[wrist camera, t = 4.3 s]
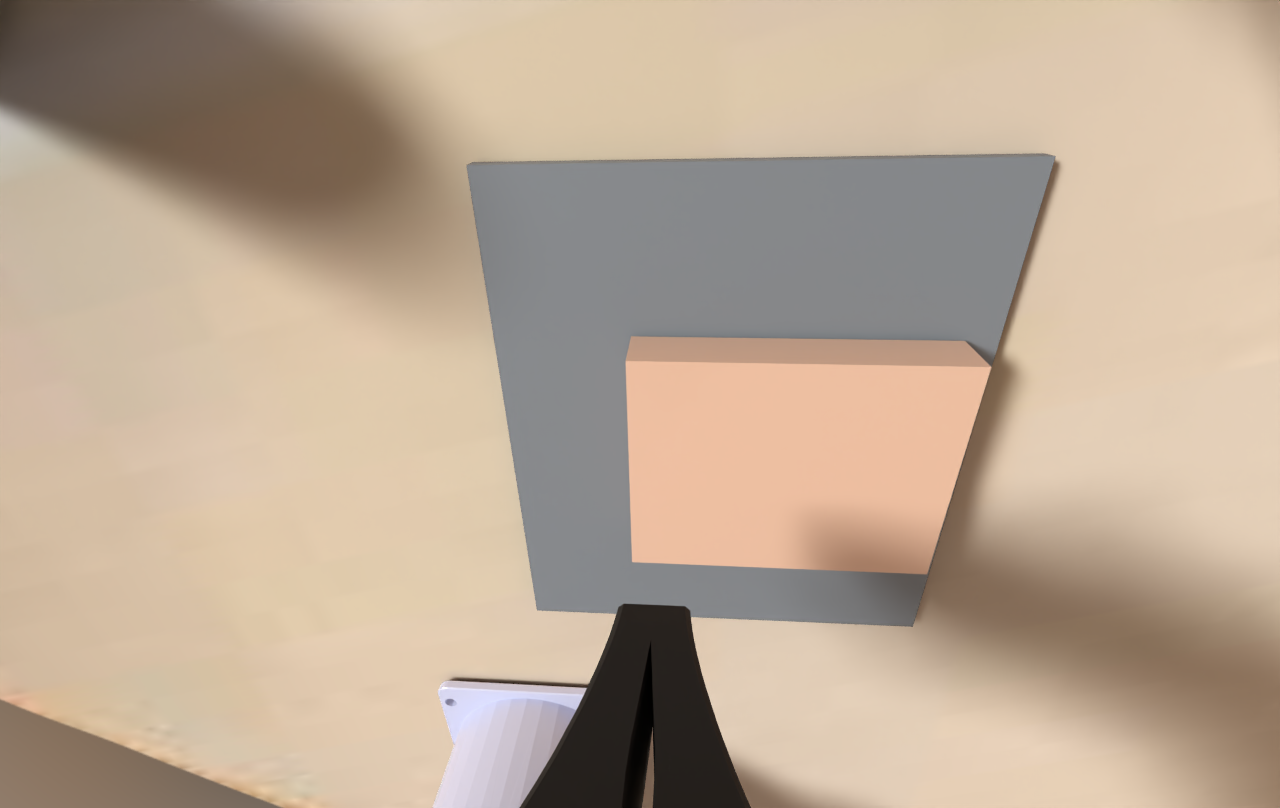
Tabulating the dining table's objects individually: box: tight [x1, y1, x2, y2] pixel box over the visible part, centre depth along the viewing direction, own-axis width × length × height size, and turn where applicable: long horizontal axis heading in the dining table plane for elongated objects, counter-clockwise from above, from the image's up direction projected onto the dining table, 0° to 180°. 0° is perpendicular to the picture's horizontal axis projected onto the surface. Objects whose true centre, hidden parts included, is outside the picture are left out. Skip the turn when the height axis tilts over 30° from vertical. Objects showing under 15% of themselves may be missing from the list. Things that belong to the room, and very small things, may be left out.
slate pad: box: [467, 154, 1056, 627], centre depth 18 cm, size 16×14×1 cm
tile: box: [626, 336, 991, 574], centre depth 17 cm, size 7×2×9 cm
